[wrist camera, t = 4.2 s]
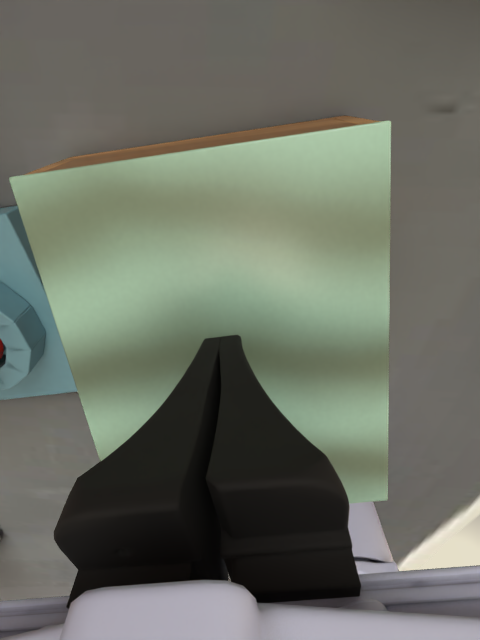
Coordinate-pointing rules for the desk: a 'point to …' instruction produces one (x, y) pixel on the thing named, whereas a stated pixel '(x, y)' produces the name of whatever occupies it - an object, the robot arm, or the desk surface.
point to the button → (1, 349)
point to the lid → (229, 282)
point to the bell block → (27, 321)
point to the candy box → (205, 142)
